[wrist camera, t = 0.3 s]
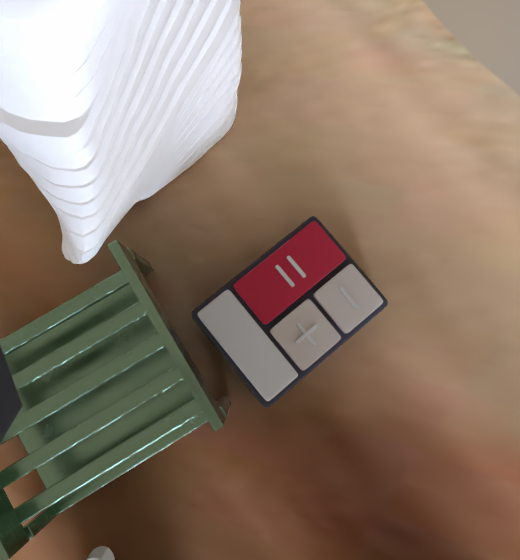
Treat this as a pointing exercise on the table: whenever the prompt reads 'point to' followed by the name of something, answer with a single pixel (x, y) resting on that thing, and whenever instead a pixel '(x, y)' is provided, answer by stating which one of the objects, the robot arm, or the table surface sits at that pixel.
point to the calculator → (289, 310)
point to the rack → (97, 394)
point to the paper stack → (114, 100)
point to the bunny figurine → (101, 554)
